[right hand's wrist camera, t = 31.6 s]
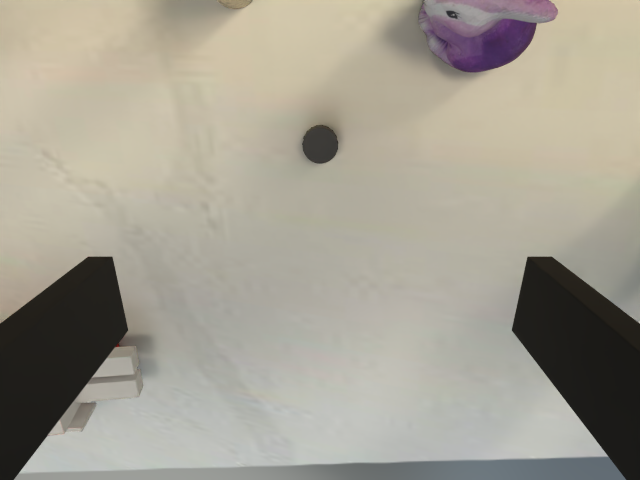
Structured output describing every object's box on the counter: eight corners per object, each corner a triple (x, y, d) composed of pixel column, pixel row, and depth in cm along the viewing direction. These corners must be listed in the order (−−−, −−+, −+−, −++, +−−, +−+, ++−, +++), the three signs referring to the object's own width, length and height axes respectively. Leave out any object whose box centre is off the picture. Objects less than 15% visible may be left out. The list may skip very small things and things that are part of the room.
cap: (299, 128, 43) (298, 131, 41) (334, 121, 43) (334, 123, 41) (307, 162, 45) (306, 166, 43) (340, 155, 44) (341, 159, 42)
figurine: (394, 2, 39) (436, -41, 25) (497, -52, 37) (603, -131, 23) (427, 96, 42) (480, 103, 28) (522, 50, 40) (630, 34, 26)
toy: (131, 443, 47) (-158, 472, 43) (158, 368, 60) (-66, 386, 56) (113, 360, 43) (-211, 384, 39) (146, 298, 55) (-98, 311, 51)
